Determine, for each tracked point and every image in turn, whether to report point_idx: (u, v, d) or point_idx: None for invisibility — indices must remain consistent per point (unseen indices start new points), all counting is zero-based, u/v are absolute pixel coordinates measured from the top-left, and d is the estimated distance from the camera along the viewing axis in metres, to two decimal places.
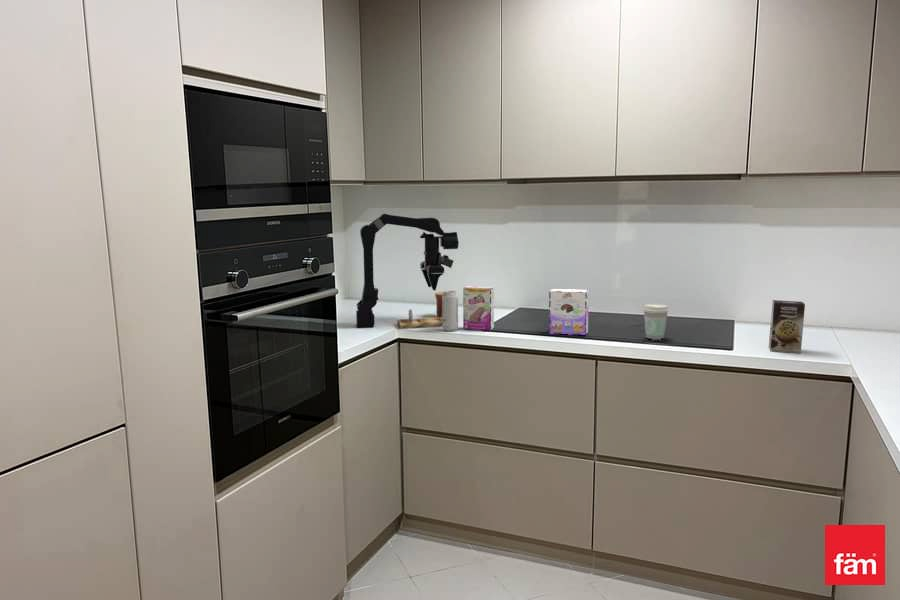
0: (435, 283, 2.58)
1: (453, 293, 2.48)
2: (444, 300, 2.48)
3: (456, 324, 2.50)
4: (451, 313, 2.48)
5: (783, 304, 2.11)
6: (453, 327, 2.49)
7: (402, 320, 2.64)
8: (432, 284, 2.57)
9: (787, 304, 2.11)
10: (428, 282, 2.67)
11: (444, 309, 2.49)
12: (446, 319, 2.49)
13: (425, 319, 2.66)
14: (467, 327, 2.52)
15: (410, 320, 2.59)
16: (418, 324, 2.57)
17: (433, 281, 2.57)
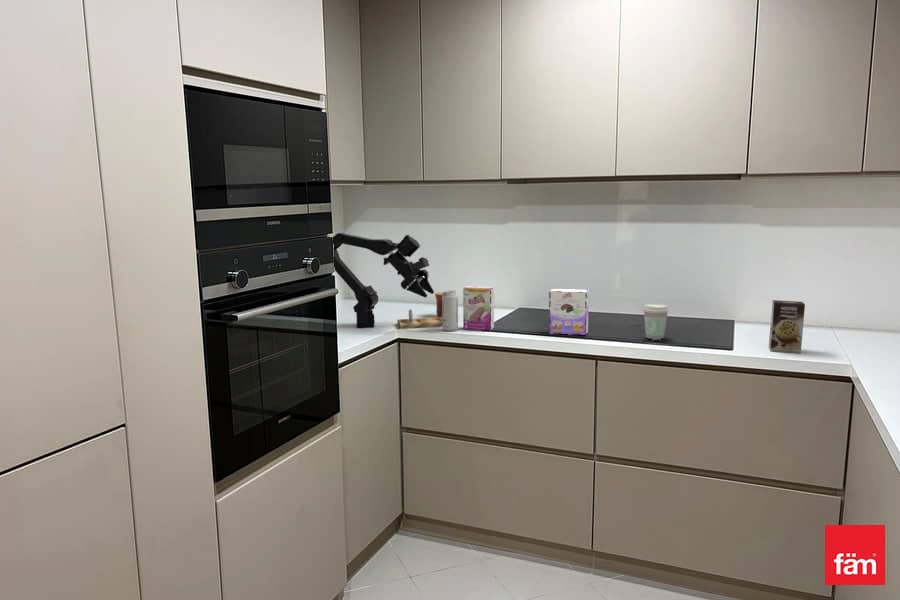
0: (421, 291, 2.47)
1: (453, 293, 2.48)
2: (444, 300, 2.48)
3: (456, 324, 2.50)
4: (451, 313, 2.48)
5: (783, 304, 2.11)
6: (453, 327, 2.49)
7: (402, 320, 2.64)
8: (419, 294, 2.47)
9: (787, 304, 2.11)
10: (428, 290, 2.56)
11: (444, 309, 2.49)
12: (446, 319, 2.49)
13: (425, 319, 2.66)
14: (467, 327, 2.52)
15: (410, 320, 2.59)
16: (418, 324, 2.57)
17: (417, 291, 2.47)
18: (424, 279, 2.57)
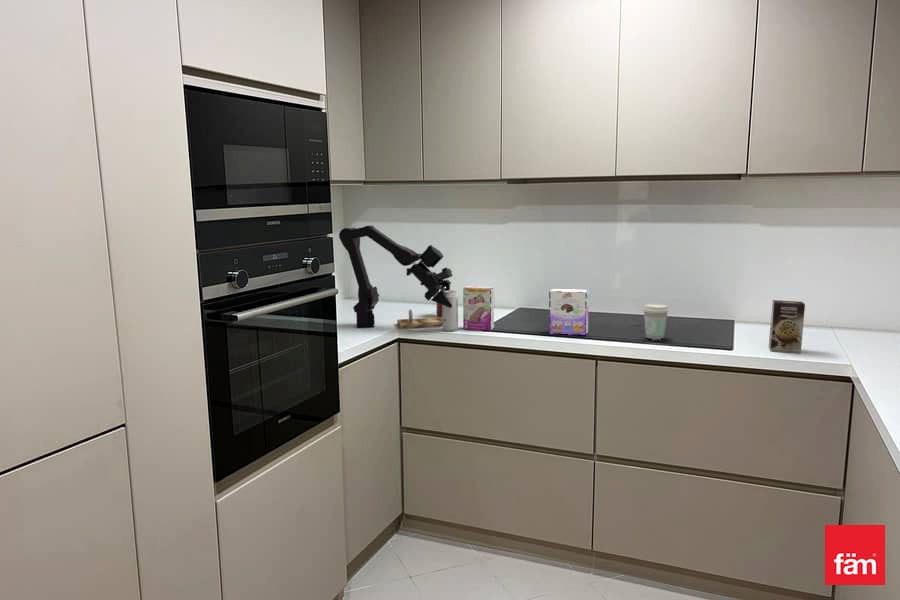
0: (446, 301, 2.46)
1: (453, 293, 2.48)
2: None
3: (456, 324, 2.50)
4: (451, 313, 2.48)
5: (783, 304, 2.11)
6: (453, 327, 2.49)
7: (402, 320, 2.64)
8: (444, 304, 2.47)
9: (787, 304, 2.11)
10: None
11: (444, 309, 2.49)
12: (446, 319, 2.49)
13: (425, 319, 2.66)
14: (467, 327, 2.52)
15: (410, 320, 2.59)
16: (418, 324, 2.57)
17: (442, 301, 2.46)
18: (446, 290, 2.54)
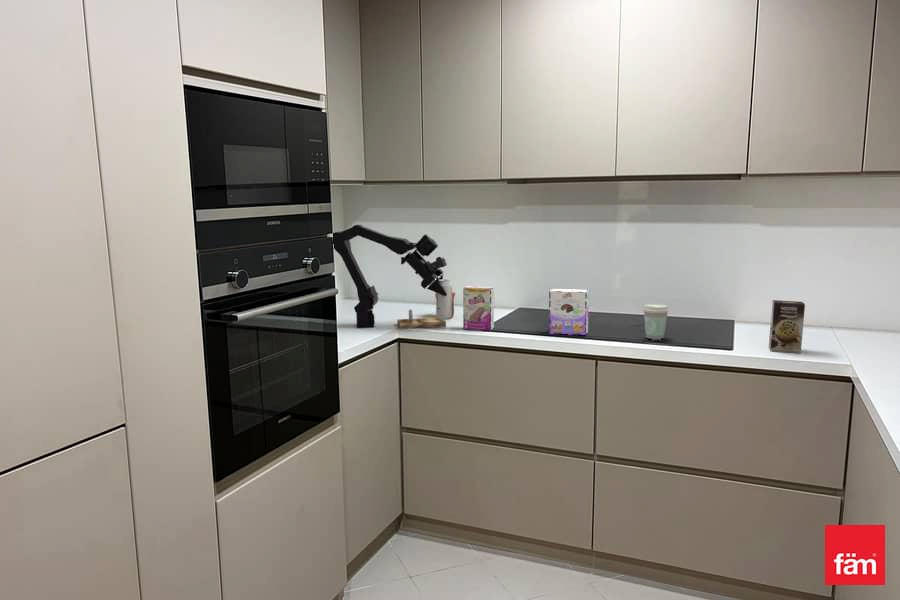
0: (441, 290, 2.50)
1: (448, 282, 2.51)
2: None
3: (450, 312, 2.54)
4: (446, 302, 2.52)
5: (783, 304, 2.11)
6: (447, 316, 2.53)
7: (402, 320, 2.64)
8: (439, 292, 2.50)
9: (787, 304, 2.11)
10: None
11: (439, 298, 2.52)
12: (441, 307, 2.52)
13: (425, 319, 2.66)
14: (467, 327, 2.52)
15: (410, 320, 2.59)
16: (418, 324, 2.57)
17: (438, 290, 2.50)
18: (439, 279, 2.57)
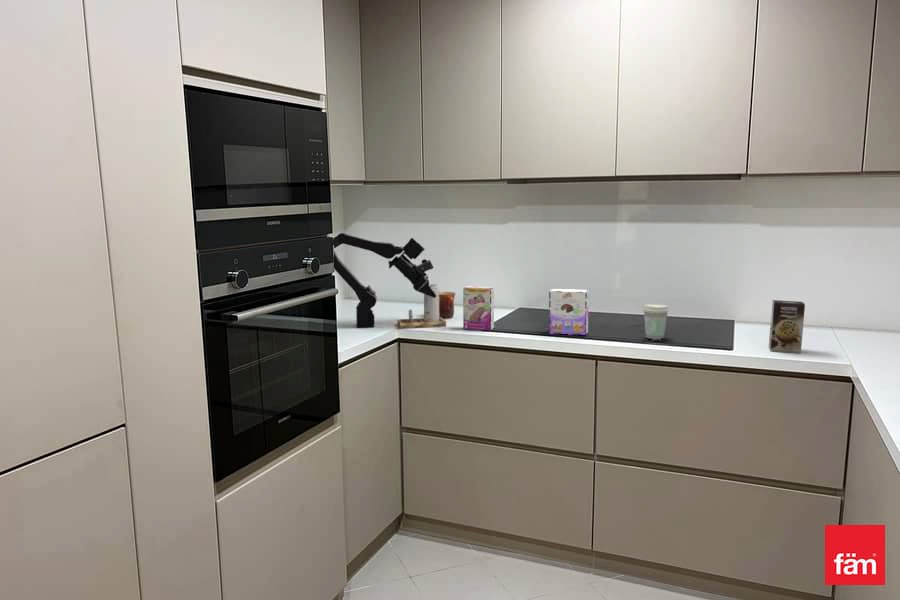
0: (431, 291, 2.55)
1: (436, 286, 2.59)
2: None
3: (438, 316, 2.61)
4: (435, 306, 2.59)
5: (783, 304, 2.11)
6: (436, 319, 2.60)
7: (402, 320, 2.64)
8: (429, 294, 2.55)
9: (787, 304, 2.11)
10: None
11: (428, 302, 2.59)
12: (430, 311, 2.59)
13: None
14: (467, 327, 2.52)
15: (410, 320, 2.59)
16: (418, 324, 2.57)
17: (428, 292, 2.55)
18: None
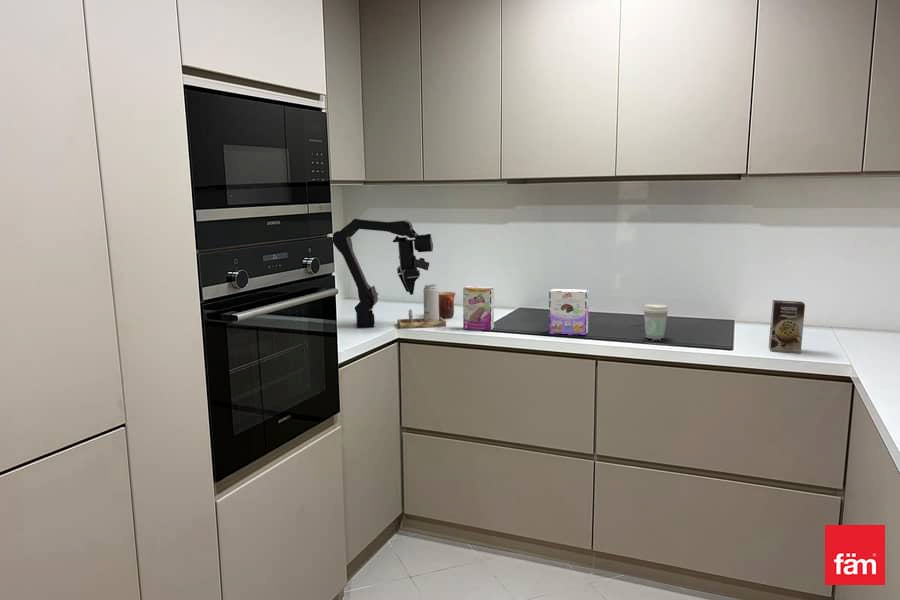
0: (412, 287, 2.51)
1: (435, 286, 2.59)
2: (427, 293, 2.58)
3: (438, 316, 2.61)
4: (434, 306, 2.59)
5: (783, 304, 2.11)
6: (436, 319, 2.60)
7: (402, 320, 2.64)
8: (409, 288, 2.51)
9: (787, 304, 2.11)
10: (406, 287, 2.61)
11: (427, 302, 2.58)
12: (430, 311, 2.59)
13: None
14: (467, 327, 2.52)
15: (410, 320, 2.59)
16: (418, 324, 2.57)
17: (409, 286, 2.51)
18: None
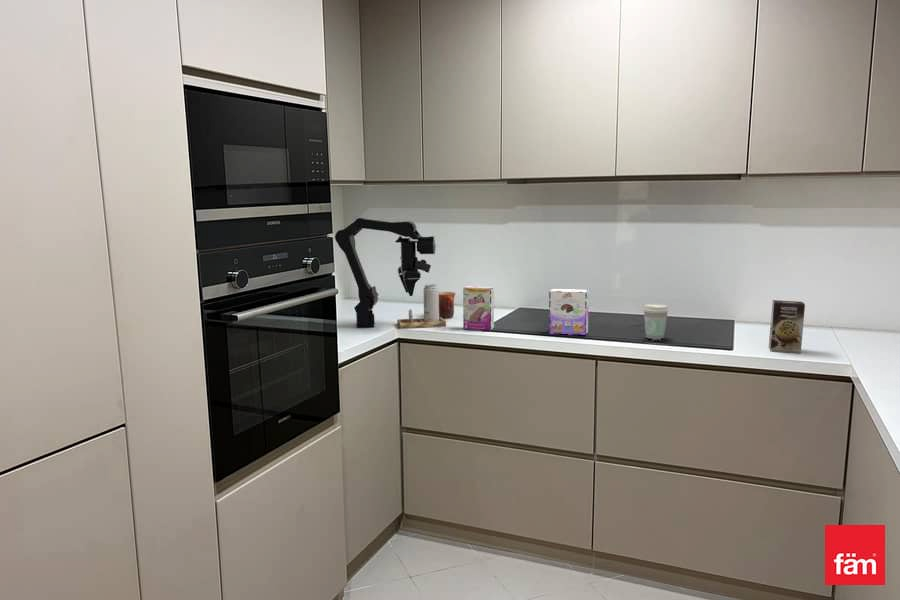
0: (412, 289, 2.51)
1: (435, 286, 2.59)
2: (427, 293, 2.58)
3: (438, 316, 2.61)
4: (434, 306, 2.59)
5: (783, 304, 2.11)
6: (436, 319, 2.60)
7: (402, 320, 2.64)
8: (409, 290, 2.51)
9: (787, 304, 2.11)
10: (406, 287, 2.61)
11: (427, 302, 2.59)
12: (430, 311, 2.59)
13: None
14: (467, 327, 2.52)
15: (410, 320, 2.59)
16: (418, 324, 2.57)
17: (409, 287, 2.50)
18: None
